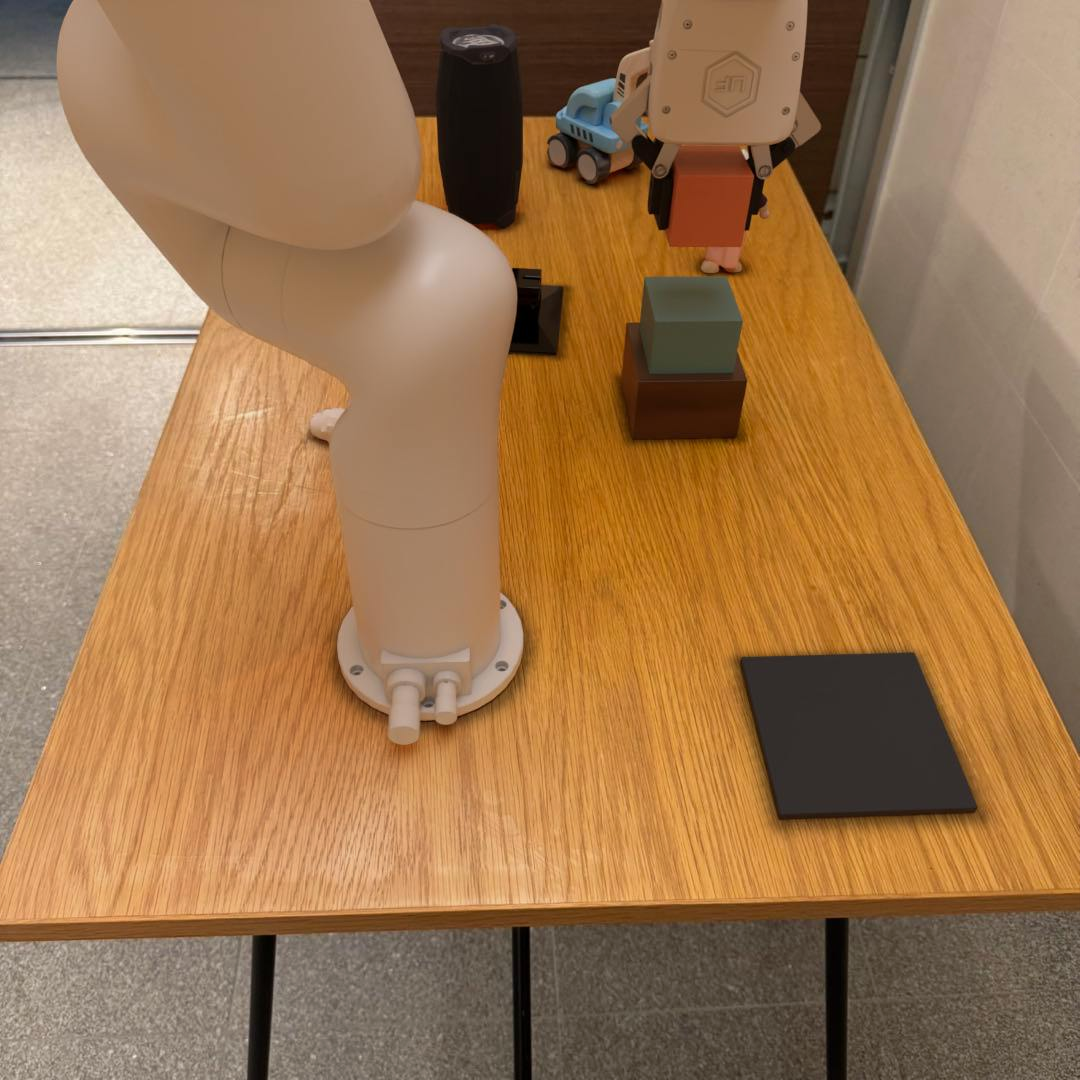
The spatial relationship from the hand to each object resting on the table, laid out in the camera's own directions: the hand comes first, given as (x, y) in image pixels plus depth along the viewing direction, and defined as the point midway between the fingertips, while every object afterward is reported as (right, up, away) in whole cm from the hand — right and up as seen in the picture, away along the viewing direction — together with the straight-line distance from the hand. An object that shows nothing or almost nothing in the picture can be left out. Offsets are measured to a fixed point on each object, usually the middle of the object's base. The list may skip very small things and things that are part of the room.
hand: (700, 220), depth 76 cm
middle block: (0, -8, +8) cm, 12 cm away
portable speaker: (-19, +13, +38) cm, 45 cm away
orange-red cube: (0, -1, +1) cm, 1 cm away
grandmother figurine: (+8, +5, +31) cm, 32 cm away
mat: (+8, -37, -12) cm, 39 cm away
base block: (0, -13, +13) cm, 18 cm away
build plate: (-14, -3, +23) cm, 27 cm away
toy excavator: (-3, +21, +47) cm, 52 cm away
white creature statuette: (-26, -15, +10) cm, 31 cm away
